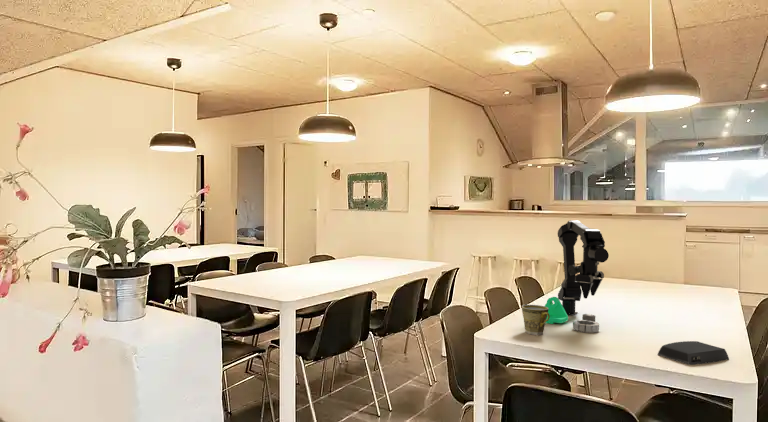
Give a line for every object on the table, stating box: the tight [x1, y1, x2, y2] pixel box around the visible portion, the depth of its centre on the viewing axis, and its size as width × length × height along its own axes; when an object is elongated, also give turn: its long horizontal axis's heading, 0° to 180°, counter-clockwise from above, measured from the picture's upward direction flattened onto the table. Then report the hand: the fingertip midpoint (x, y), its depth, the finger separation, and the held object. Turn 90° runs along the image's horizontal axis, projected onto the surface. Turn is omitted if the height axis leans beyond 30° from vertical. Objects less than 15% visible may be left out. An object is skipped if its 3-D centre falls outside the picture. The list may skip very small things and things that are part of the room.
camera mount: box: [544, 296, 569, 325], centre depth 222 cm, size 12×8×10 cm, turn 50°
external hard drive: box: [657, 340, 730, 366], centre depth 174 cm, size 13×19×4 cm
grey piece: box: [572, 319, 600, 334], centre depth 208 cm, size 10×10×3 cm
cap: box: [581, 313, 596, 322], centre depth 217 cm, size 5×5×4 cm
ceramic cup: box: [521, 304, 550, 336], centre depth 200 cm, size 13×10×10 cm
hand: (589, 296), depth 217 cm, fingers open, 9 cm apart
